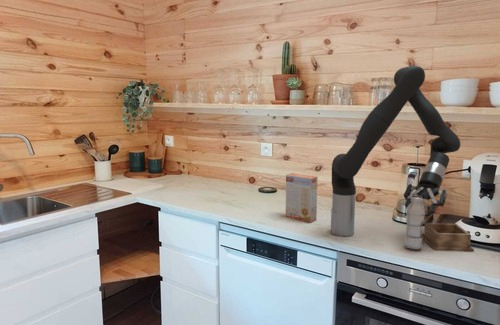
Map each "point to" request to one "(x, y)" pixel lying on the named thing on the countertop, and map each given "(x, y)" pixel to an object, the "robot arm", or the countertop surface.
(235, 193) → the countertop surface
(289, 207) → the cracker box
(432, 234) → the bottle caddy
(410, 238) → the plastic bottle
